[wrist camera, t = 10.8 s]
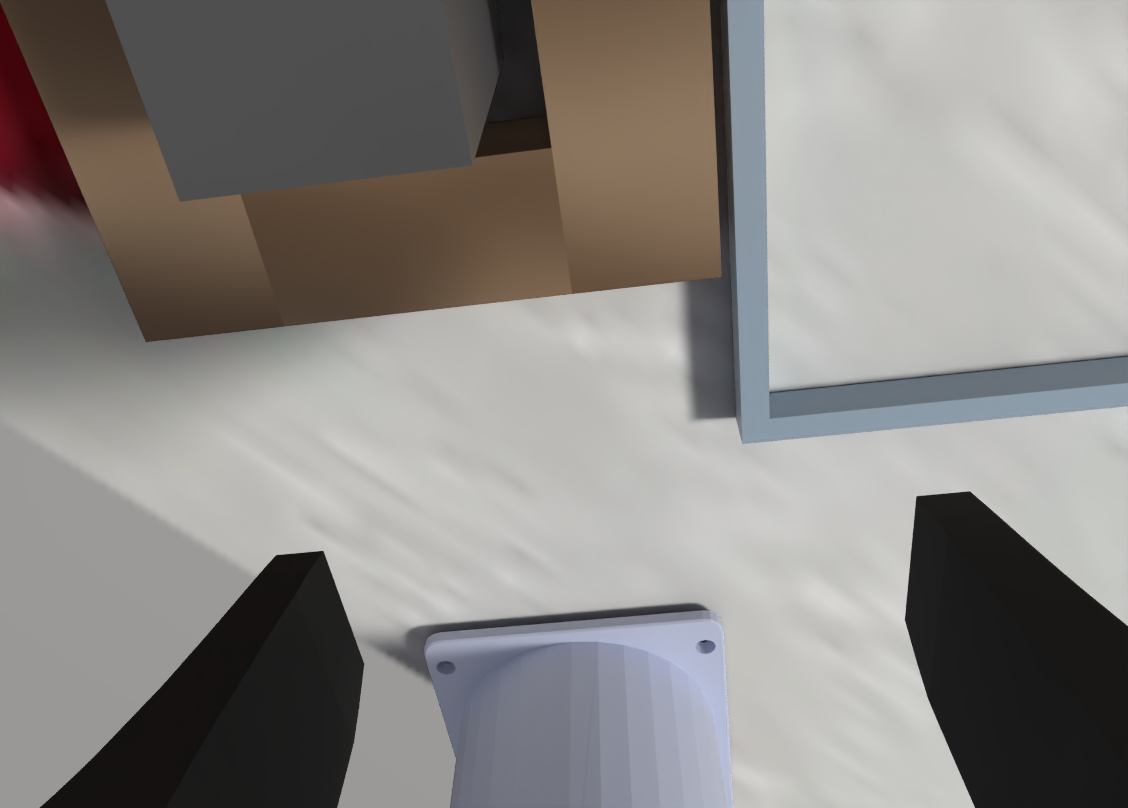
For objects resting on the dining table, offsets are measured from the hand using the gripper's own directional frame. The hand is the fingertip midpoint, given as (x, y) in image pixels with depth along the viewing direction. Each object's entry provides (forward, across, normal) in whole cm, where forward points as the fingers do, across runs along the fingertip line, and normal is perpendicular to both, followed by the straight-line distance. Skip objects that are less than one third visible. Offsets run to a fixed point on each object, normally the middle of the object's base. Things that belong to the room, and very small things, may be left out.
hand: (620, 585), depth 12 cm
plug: (+10, +3, -6) cm, 12 cm away
